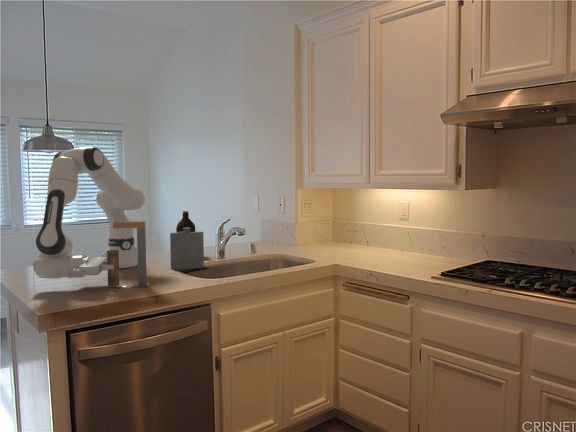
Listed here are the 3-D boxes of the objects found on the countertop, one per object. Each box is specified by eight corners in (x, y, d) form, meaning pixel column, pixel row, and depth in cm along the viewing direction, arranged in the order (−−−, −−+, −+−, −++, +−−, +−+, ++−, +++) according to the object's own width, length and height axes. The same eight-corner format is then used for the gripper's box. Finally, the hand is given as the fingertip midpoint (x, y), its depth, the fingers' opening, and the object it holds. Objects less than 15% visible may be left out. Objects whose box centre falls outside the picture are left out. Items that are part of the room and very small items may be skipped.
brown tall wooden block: (106, 284, 189) (105, 250, 188) (117, 283, 192) (116, 249, 191) (110, 286, 186) (109, 251, 185) (121, 285, 189) (120, 250, 188)
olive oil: (199, 254, 269) (198, 210, 267) (189, 257, 259) (188, 212, 257) (183, 253, 272) (182, 210, 270) (173, 256, 262) (172, 211, 260)
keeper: (114, 289, 186) (112, 222, 183) (117, 285, 193) (115, 221, 190) (148, 287, 188) (146, 222, 186) (149, 283, 195) (148, 220, 193)
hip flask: (203, 266, 233) (202, 226, 231) (204, 267, 229) (204, 227, 227) (170, 268, 228) (169, 227, 226) (171, 270, 224) (170, 228, 222)
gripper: (71, 263, 175) (110, 262, 178) (84, 254, 195) (119, 253, 198) (72, 280, 176) (111, 278, 179) (85, 269, 196) (119, 268, 199)
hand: (115, 265), depth 188 cm, fingers closed on brown tall wooden block, 4 cm apart
